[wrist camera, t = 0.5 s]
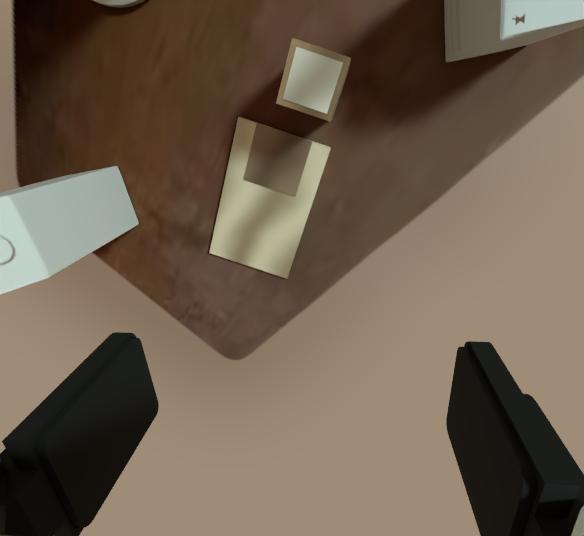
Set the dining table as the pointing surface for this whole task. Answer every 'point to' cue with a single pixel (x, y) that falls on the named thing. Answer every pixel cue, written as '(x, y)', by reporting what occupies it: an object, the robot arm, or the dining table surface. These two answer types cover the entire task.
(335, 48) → the dining table surface
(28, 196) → the milk carton
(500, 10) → the supplement box
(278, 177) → the board
